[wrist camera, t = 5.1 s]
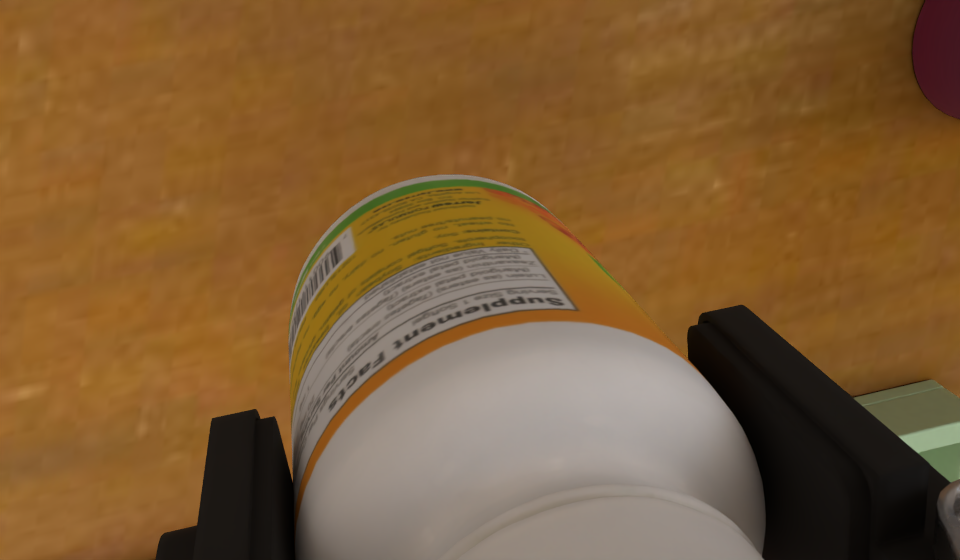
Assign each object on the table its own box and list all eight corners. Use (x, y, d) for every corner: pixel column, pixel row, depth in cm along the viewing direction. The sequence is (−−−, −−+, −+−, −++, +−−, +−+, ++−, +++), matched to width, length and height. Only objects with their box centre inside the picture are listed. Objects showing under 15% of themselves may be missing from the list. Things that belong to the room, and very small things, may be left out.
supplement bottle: (608, 390, 18) (933, 862, 9) (342, 478, 17) (408, 1071, 8) (551, 127, 16) (908, 412, 7) (243, 220, 15) (195, 658, 6)
